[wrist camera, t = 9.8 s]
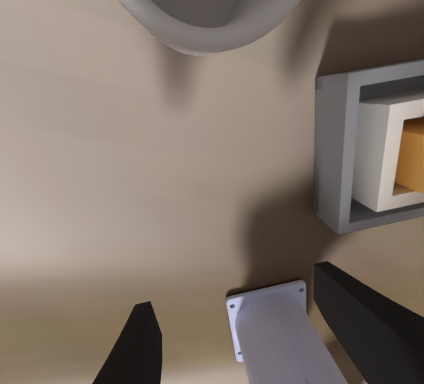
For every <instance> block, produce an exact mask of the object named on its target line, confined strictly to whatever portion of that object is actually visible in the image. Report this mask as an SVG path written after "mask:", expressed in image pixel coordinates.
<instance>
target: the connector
mask: <svg viewBox="0 0 424 384" xmlns="http://www.w3.org/2000/svg"><path fill="white" fill-rule="evenodd" d="M394 182H395V183H398V184H400V185H403V186H405V187H407V188H410V189H412V190H415V191H417V192H420V193H422V194H424V118H411V119H406V120H404V122H403V129H402V135H401V141H400V148H399V154H398V161H397V167H396V174H395V180H394Z"/></svg>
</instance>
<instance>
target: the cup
mask: <svg viewBox="0 0 424 384" xmlns="http://www.w3.org/2000/svg"><path fill="white" fill-rule="evenodd" d="M119 1H120V3H121V4H122V5H123V6H124V7H125V8H126V9H127V11H128V12H129V13H130V14H131V15H132V16H133V17H134V18H135V19H136V20H138V21H139V22H140V23H141V24H142V25H143V26H144V27H145V28H146V29H147V30H148V31H149V32H151V33H152V34H153V35H154V36H155V37H156V38H157V39H158V40H159V41H161V42H162V43H163V44H165V45H166V46H168V47H169V48H171V49H173V50H175V51H178V52H180V53H183V54H188V55H196V56H201V55H209V54H214V53H218V52H223V51H228V50H232V49H236V48H239V47H242V46H245V45H248V44H250V43H252V42H254V41H256V40H258V39H260V38H261V37H263V36H264V35H266V34H267V33H269V32H270V31H271V30H273V29H274V28H275V27H277V26H278V25H279V24H280V23H281V22H282V21H283V20H284V19H285V18H286V17H287V16H288V15H289V14H290V13H291V11H292V10H293V9H294V8H295V7H296V5H297V4H298V3H299V1H300V0H119Z"/></svg>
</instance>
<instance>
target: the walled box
mask: <svg viewBox="0 0 424 384" xmlns="http://www.w3.org/2000/svg"><path fill="white" fill-rule="evenodd" d="M411 118H424V58H423V59H418V60H412V61H406V62H400V63H394V64H389V65H383V66H377V67H371V68H365V69H359V70H354V71H348V72H342V73H336V74H330V75H324V76H319V77H316V93H315V165H314V214H315V215H316V216H317V217H318V218H319V219H321V220H322V221H323V222H324V223H325V224H326V225H327V226H329V227H330V228H331V229H332V230H333V231H334V232H335V233H337V234H338V235H340V234H345V233H349V232H354V231H359V230H363V229H368V228H372V227H377V226H381V225H386V224H390V223H395V222H400V221H404V220H409V219H413V218H418V217H422V216H424V194H422V193H420V192H417V191H415V190H412V189H410V188H407V187H405V186H403V185H400V184H398V183H395V182H394V180H395V174H396V167H397V161H398V154H399V148H400V141H401V135H402V129H403V122H404V120H406V119H411Z"/></svg>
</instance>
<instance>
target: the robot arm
mask: <svg viewBox="0 0 424 384" xmlns="http://www.w3.org/2000/svg"><path fill="white" fill-rule="evenodd" d="M314 300H315V302H316V304H317V306H318V308H319V310H320V312H321V314H322V316H323V317H324V319H325V321H326V323H327V324H328V326H329V327H330V329H331V330H332V332H333V333H334V335H335V336H336V338H337V339H338V341H339V342H340V343H341V345H342V346H343V348H344V349H345V351H346V352H347V354H348V355H349V357H350V358H351V360H352V361H353V362H354V364H355V365H356V367H357V368H358V370H359V371H360V373H361V374H362V376H363V377H364V379H365V380H366V382H367V383H368V384H424V317H422V316H420V315H418V314H416V313H414V312H412V311H410V310H409V309H407V308H405V307H403V306H401V305H399V304H398V303H396V302H394V301H392V300H390V299H389V298H387V297H385V296H383V295H382V294H380V293H378V292H377V291H375V290H373V289H372V288H370V287H368V286H367V285H365V284H363V283H362V282H360V281H358V280H357V279H355V278H354V277H352V276H350V275H349V274H347V273H346V272H344V271H342V270H341V269H339V268H338V267H336V266H334V265H333V264H331V263H330V262H328V261H326V262H321V263H317V264H314ZM226 304H227V310H228V316H229V321H230V327H231V332H232V338H233V343H234V349H235V355H236V359H237V361H238V362H242V361H243V362H244V366H245V370H246V374H247V378H248V382H249V384H348V383H347V381H346V379H345V378H344V376H343V374H342V373H341V371H340V369H339V368H338V366H337V364H336V363H335V361H334V359H333V357H332V356H331V354H330V352H329V351H328V349H327V347H326V346H325V344H324V342H323V341H322V339H321V337H320V336H319V334H318V332H317V330H316V329H315V327H314V325H313V324H312V322H311V320H310V319H309V317H308V315H307V314H306V283H305V282H304V281H303V280H298V281H293V282H289V283H284V284H280V285H276V286H271V287H267V288H263V289H258V290H254V291H250V292H245V293H241V294H237V295H232V296H229V297H227V299H226ZM232 304H233V305H232ZM161 370H162V333H161V331H160V328H159V325H158V322H157V319H156V316H155V313H154V310H153V308H152V305H151V302H150V301H149V302H145V303H140V304H136V305H135V306H134V308H133V310H132V312H131V314H130V316H129V318H128V320H127V322H126V324H125V326H124V328H123V330H122V332H121V334H120V336H119V338H118V340H117V341H116V343H115V345H114V347H113V349H112V351H111V352H110V354H109V356H108V358H107V360H106V361H105V363H104V365H103V367H102V368H101V370H100V372H99V373H98V375H97V377H96V378H95V380H94V382H93V383H92V384H160V381H161Z"/></svg>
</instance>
